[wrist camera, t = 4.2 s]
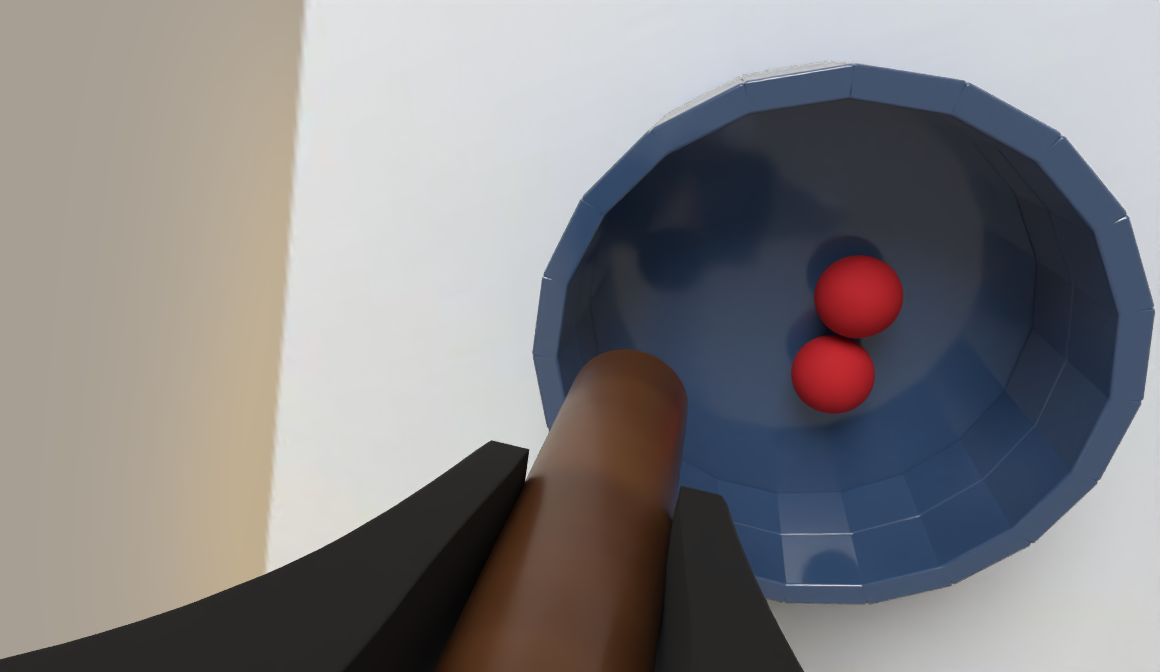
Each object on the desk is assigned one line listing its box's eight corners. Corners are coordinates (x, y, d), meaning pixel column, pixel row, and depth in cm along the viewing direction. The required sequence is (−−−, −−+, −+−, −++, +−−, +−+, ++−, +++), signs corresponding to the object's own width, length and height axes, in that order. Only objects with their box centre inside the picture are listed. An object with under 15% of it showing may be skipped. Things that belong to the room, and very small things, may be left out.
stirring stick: (675, 464, 14) (599, 998, 6) (564, 438, 15) (354, 915, 7) (699, 362, 13) (646, 837, 5) (580, 337, 14) (358, 747, 6)
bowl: (949, 539, 20) (1003, 661, 16) (550, 443, 22) (508, 533, 18) (1144, 111, 16) (1291, 131, 11) (613, 26, 17) (575, 18, 13)
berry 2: (854, 399, 19) (867, 436, 17) (779, 382, 19) (784, 417, 17) (877, 332, 18) (893, 363, 16) (799, 316, 18) (807, 345, 16)
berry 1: (879, 328, 18) (895, 359, 16) (800, 311, 18) (808, 341, 16) (904, 254, 17) (925, 278, 15) (822, 238, 17) (833, 260, 16)
